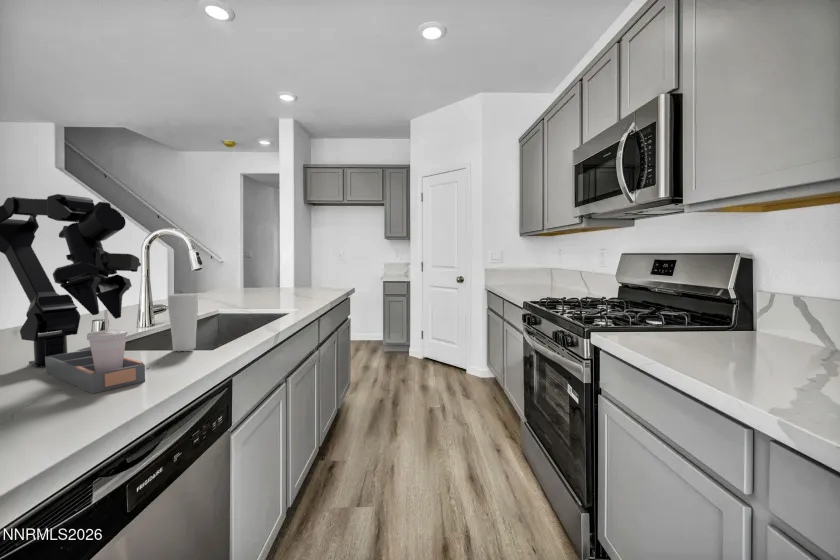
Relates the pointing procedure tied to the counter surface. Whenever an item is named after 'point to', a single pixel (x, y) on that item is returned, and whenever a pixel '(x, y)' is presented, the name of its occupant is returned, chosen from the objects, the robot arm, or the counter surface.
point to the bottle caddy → (93, 371)
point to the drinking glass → (183, 320)
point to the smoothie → (107, 347)
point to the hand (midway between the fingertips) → (107, 316)
